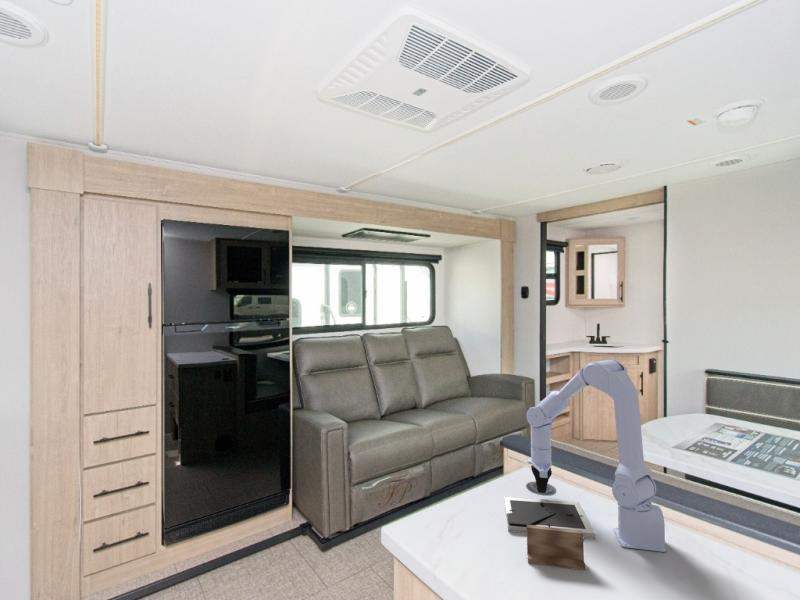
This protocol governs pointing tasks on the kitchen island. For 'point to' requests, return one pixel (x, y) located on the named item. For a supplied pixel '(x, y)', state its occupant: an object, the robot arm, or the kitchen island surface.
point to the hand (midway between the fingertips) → (541, 491)
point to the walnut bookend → (555, 547)
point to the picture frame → (546, 515)
